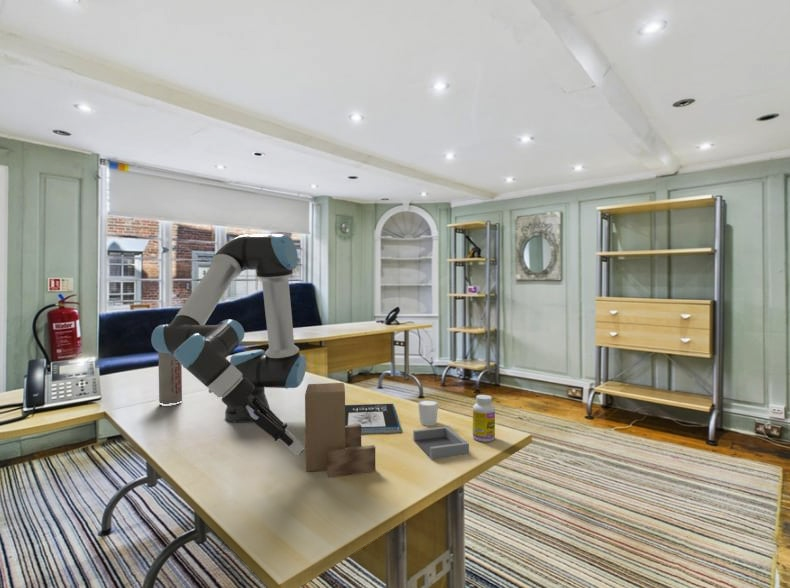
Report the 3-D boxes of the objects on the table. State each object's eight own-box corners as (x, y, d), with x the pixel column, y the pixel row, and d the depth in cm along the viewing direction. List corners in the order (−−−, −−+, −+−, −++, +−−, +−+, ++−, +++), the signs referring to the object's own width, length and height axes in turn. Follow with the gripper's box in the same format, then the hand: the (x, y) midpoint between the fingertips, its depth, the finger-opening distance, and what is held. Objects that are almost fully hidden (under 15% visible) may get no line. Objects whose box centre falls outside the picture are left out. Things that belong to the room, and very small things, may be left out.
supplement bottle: (488, 444, 120) (488, 401, 120) (468, 438, 125) (468, 397, 124) (498, 438, 125) (499, 396, 125) (479, 432, 129) (479, 392, 129)
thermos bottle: (186, 402, 163) (185, 333, 163) (166, 407, 157) (165, 335, 156) (175, 399, 168) (173, 331, 167) (155, 404, 161) (153, 333, 160)
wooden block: (344, 453, 114) (344, 382, 113) (345, 469, 104) (345, 391, 104) (308, 455, 113) (307, 383, 112) (305, 472, 103) (304, 393, 102)
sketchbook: (393, 406, 159) (393, 401, 159) (401, 435, 129) (401, 428, 129) (337, 408, 157) (337, 402, 157) (333, 437, 127) (333, 430, 127)
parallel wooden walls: (327, 477, 100) (327, 453, 100) (319, 449, 117) (319, 428, 117) (375, 470, 103) (375, 447, 103) (360, 444, 121) (360, 424, 120)
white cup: (442, 422, 139) (442, 402, 139) (430, 428, 134) (429, 407, 134) (426, 418, 144) (426, 398, 143) (414, 423, 139) (413, 402, 138)
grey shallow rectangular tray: (431, 459, 110) (431, 448, 110) (413, 440, 124) (413, 430, 123) (468, 454, 113) (468, 443, 113) (447, 435, 127) (447, 426, 127)
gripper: (223, 391, 104) (288, 451, 109) (216, 406, 92) (290, 473, 97) (246, 370, 106) (309, 430, 111) (242, 382, 93) (313, 449, 98)
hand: (300, 450), depth 104 cm, fingers closed
